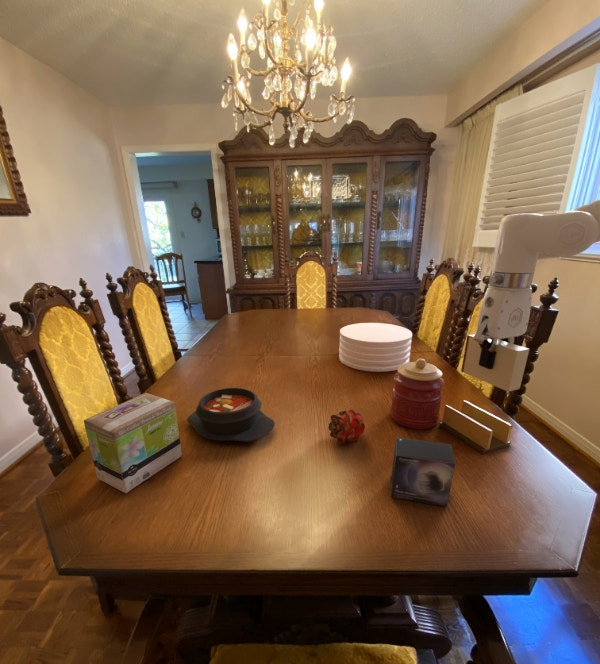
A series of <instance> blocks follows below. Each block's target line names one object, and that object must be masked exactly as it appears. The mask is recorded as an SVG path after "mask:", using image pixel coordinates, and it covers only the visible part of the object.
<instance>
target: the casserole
mask: <svg viewBox="0 0 600 664" xmlns="http://www.w3.org/2000/svg"><path fill="white" fill-rule="evenodd" d="M261 408H262V402H261V400H260V399H259V398H258V396H257V394H256V393H255V392H254V391H252V390H250V389H247V388H243V387H226V388H219V389H216V390H213V391H211V392H208V393H206V394H205V395H203V396H202V397H201V398H200V400H199V401H198V405H197V406H196V407H195V410H194V411H193V412H191V414H189V416H188V417H187V418H186V420H187V423H188V424H189V425H191V426H192V427H193V428H194V430H195V432H196V433H197V434H198V435H199V436H200V437H203V438H204V439H208V440H212V441H218V442H219V441H220V442H221V441H235V442H245V443H249V442H250V443H251V442H254V441H258V440H260V439H262V438H264V437H266V436H267V435H269V434H270V433H271V432H272V431H273V430H274V428H275V425H276V422H275V420H273V419H272V418H270V417H269V416H267V415H266V414H265V413H264V412H263V411H261Z"/></svg>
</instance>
